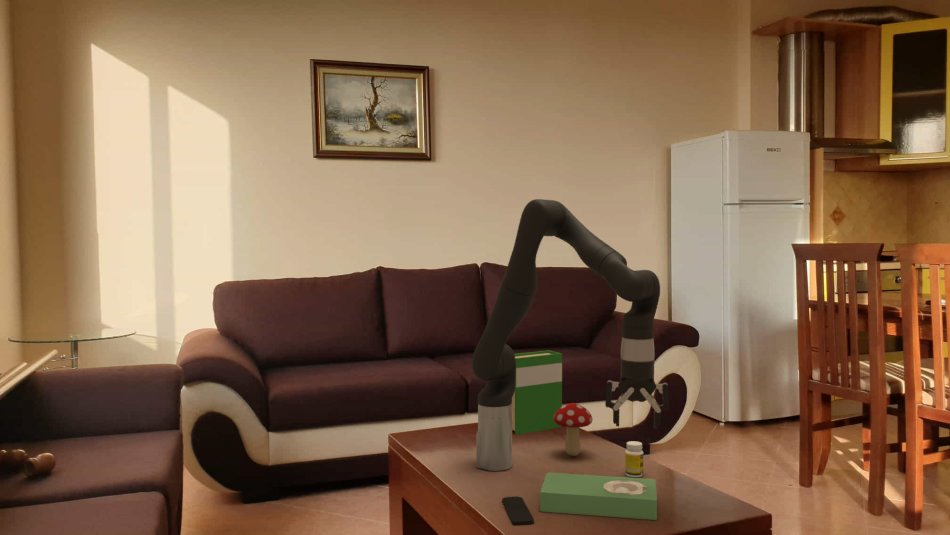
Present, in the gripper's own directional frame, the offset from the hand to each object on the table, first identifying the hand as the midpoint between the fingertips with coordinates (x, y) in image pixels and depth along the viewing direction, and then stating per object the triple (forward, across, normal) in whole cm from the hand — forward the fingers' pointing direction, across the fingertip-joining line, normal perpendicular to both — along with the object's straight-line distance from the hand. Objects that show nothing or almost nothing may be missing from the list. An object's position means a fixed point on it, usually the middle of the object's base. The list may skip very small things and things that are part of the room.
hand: (636, 426), depth 174 cm
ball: (+17, -3, 0) cm, 17 cm away
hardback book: (+20, -32, +63) cm, 73 cm away
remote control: (+20, -26, -8) cm, 34 cm away
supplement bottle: (+19, 0, +23) cm, 30 cm away
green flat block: (+19, -8, 0) cm, 21 cm away
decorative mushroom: (+19, -17, +36) cm, 44 cm away
